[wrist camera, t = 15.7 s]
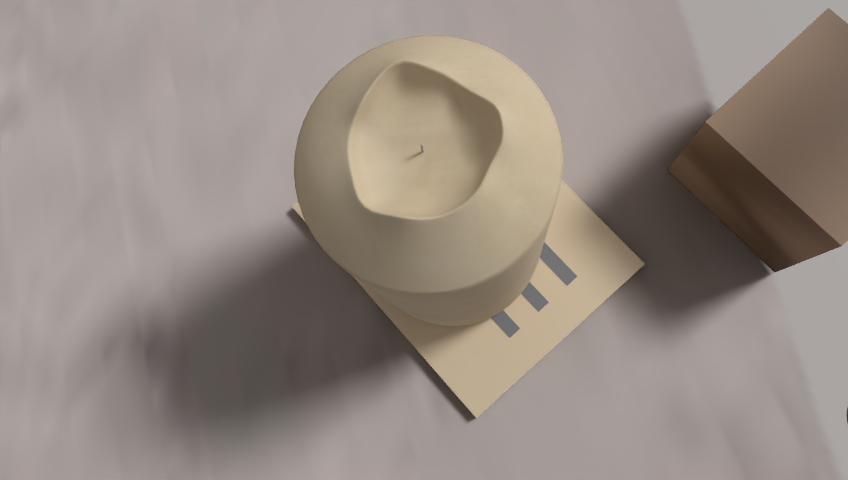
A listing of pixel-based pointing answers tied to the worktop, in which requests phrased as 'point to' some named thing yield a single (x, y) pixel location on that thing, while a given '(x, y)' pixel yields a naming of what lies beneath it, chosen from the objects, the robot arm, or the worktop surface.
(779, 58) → the block
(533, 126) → the candle
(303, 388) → the worktop surface
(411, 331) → the letter
